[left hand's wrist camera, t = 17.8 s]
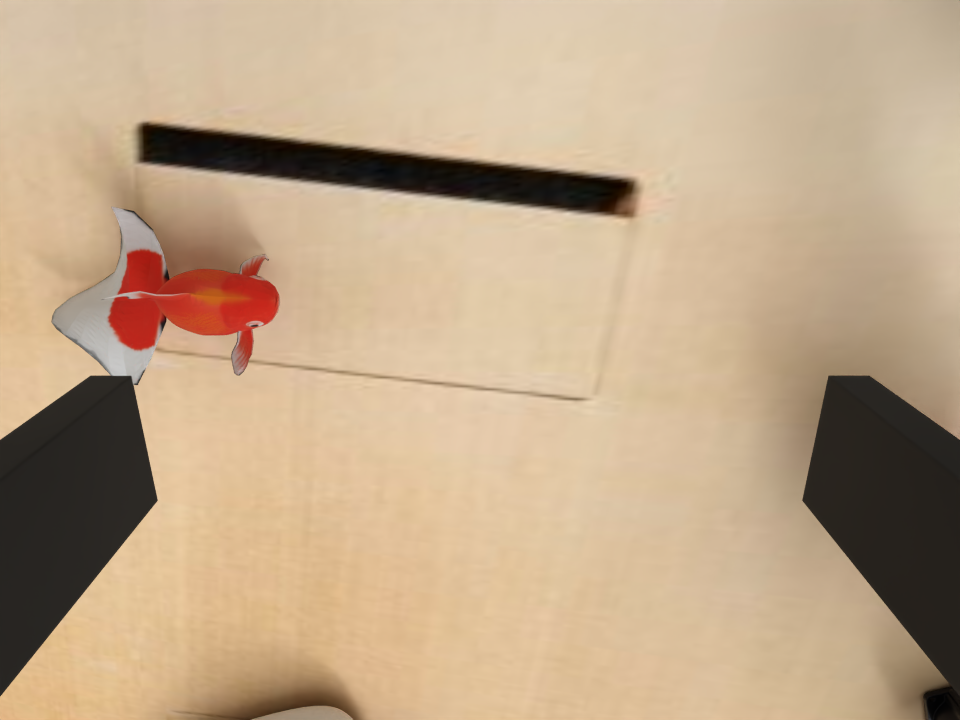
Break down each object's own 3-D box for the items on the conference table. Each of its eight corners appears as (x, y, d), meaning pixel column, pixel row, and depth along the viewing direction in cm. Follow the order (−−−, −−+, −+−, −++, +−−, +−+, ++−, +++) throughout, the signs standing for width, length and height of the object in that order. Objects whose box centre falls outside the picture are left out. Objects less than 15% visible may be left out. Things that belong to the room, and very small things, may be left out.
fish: (283, 431, 44) (167, 435, 35) (118, 357, 49) (-22, 344, 40) (334, 277, 44) (231, 239, 34) (162, 220, 49) (31, 173, 39)
